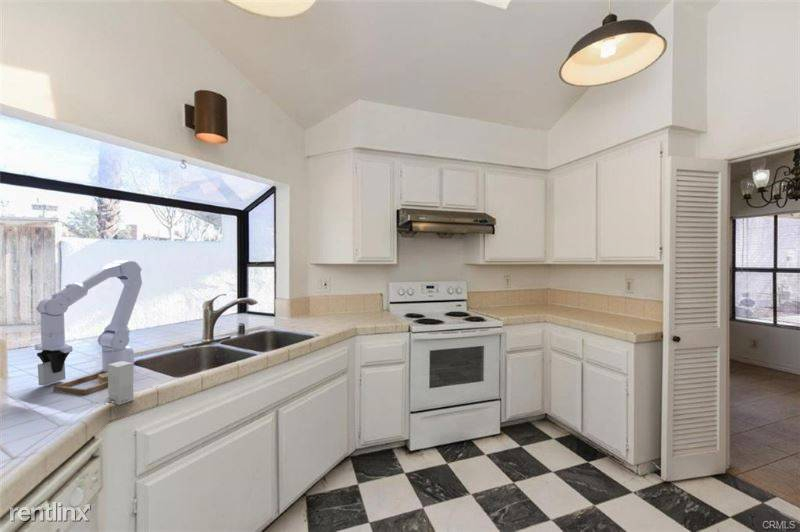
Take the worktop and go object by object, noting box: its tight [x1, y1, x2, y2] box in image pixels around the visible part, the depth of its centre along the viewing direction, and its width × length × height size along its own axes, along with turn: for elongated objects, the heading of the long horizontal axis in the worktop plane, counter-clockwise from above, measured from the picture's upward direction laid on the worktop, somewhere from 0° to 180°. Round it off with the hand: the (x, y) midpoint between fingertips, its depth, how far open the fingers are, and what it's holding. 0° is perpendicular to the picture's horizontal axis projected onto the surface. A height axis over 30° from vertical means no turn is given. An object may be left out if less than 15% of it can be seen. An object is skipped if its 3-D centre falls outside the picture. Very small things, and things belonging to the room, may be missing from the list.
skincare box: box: [107, 361, 135, 406], centre depth 108 cm, size 6×4×12 cm
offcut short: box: [97, 372, 108, 384], centre depth 121 cm, size 3×5×2 cm, turn 55°
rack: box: [52, 370, 108, 396], centre depth 118 cm, size 15×14×3 cm
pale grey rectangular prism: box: [37, 362, 66, 387], centre depth 117 cm, size 6×2×7 cm, turn 166°
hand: (54, 371), depth 118 cm, fingers closed on pale grey rectangular prism, 2 cm apart
